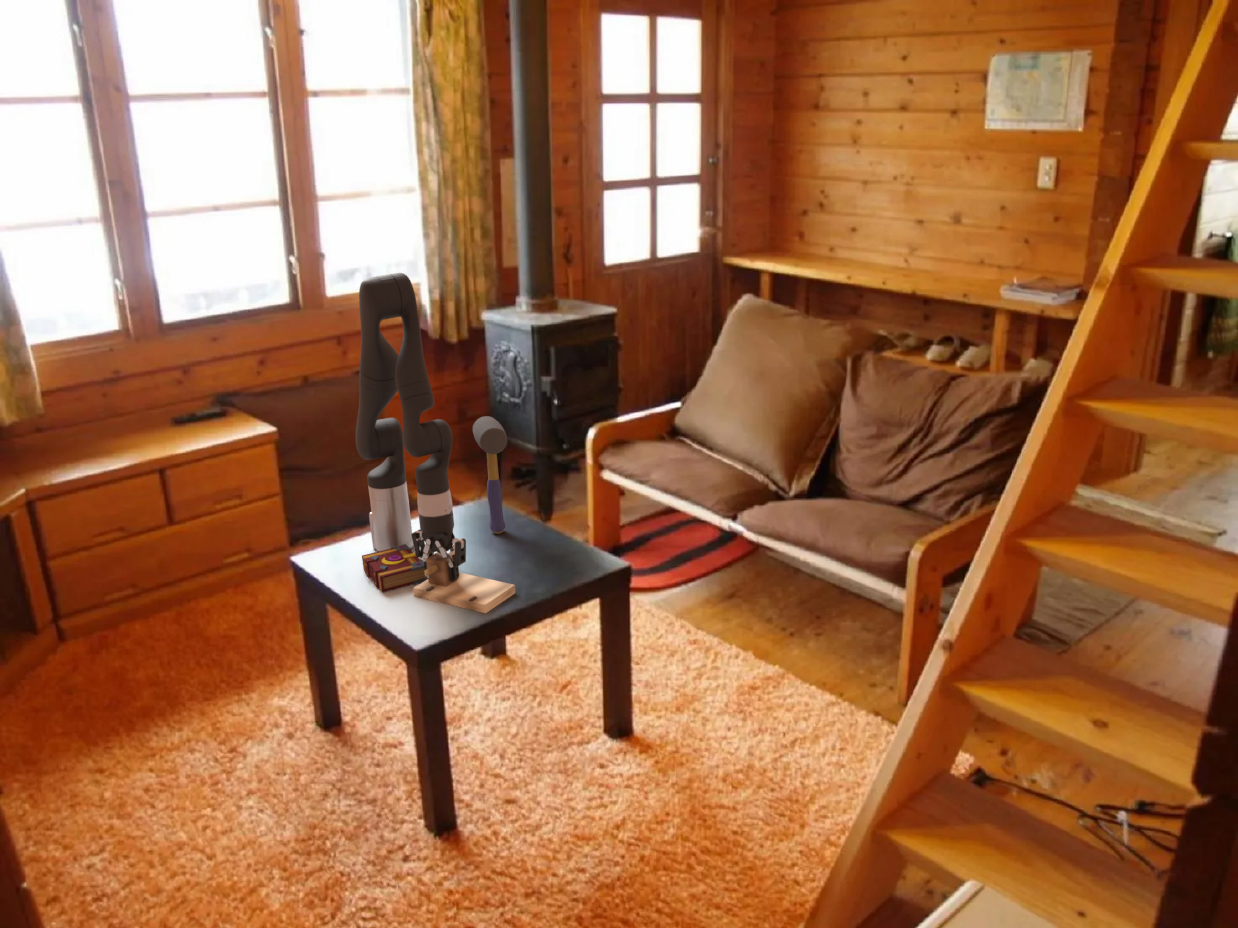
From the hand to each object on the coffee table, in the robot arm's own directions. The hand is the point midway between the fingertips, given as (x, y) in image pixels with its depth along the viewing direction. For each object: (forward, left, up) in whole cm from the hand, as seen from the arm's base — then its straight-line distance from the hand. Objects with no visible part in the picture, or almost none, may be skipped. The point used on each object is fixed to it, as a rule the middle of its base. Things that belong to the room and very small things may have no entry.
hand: (442, 577), depth 236 cm
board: (+6, 0, -3) cm, 7 cm away
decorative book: (-16, +1, -3) cm, 16 cm away
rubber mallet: (-9, +33, -3) cm, 34 cm away
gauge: (0, 0, -1) cm, 1 cm away
